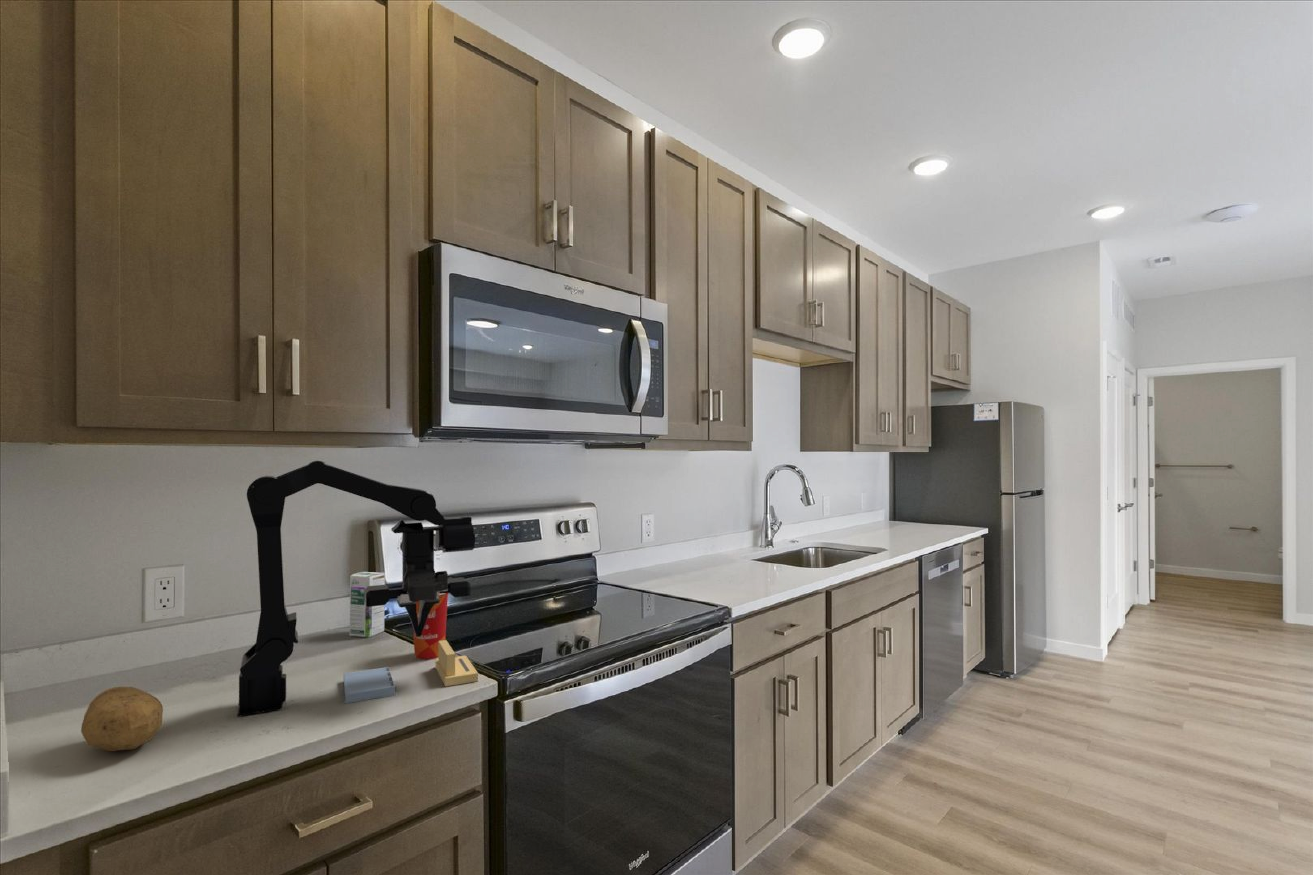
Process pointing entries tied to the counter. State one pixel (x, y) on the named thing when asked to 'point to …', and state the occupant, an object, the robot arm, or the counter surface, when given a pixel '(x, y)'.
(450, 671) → the stub
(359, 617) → the syrup box
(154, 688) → the counter surface
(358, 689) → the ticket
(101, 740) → the potato
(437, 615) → the coffee cup
